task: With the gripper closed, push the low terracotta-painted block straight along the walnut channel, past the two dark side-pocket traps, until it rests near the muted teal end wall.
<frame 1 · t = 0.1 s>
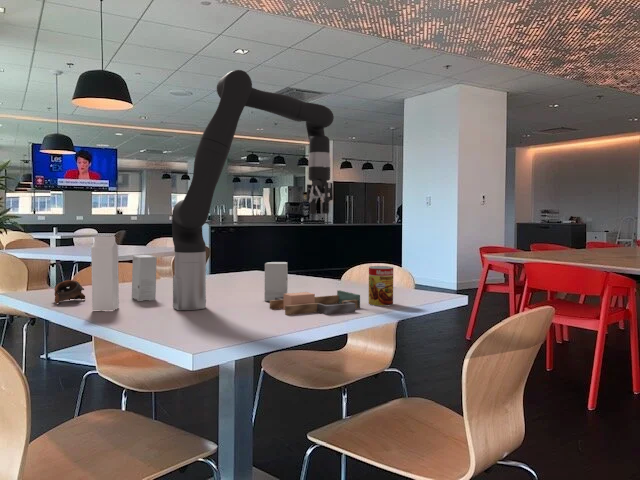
hand: (319, 213, 179), 29 cm above the table, fingers open, 8 cm apart
milk: (105, 310, 155), on the table
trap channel: (313, 308, 158), on the table
brown dome piece: (68, 303, 169), on the table
canned food: (380, 304, 167), on the table
block: (299, 310, 156), resting in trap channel
skincare box: (144, 299, 175), on the table
supplement box: (276, 300, 175), on the table
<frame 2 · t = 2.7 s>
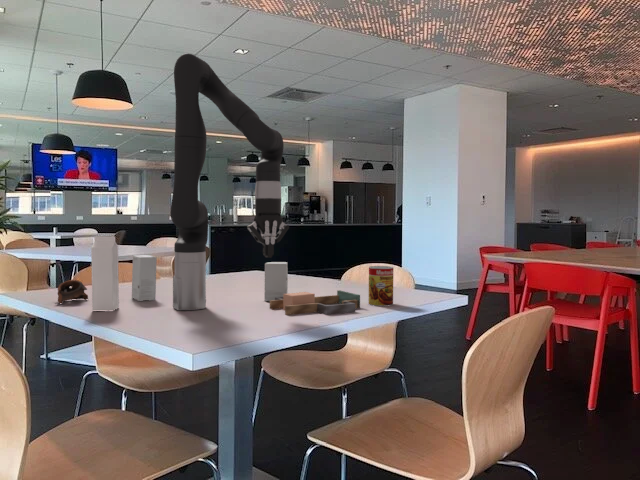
hand: (268, 257, 150), 16 cm above the table, fingers closed
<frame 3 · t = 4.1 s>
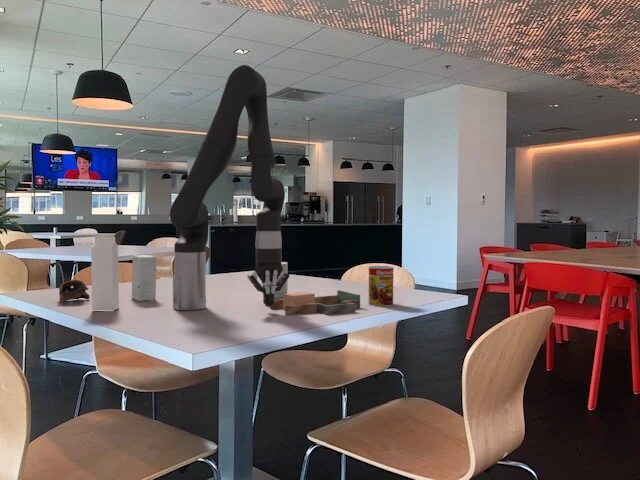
hand: (268, 306, 151), 2 cm above the table, fingers closed
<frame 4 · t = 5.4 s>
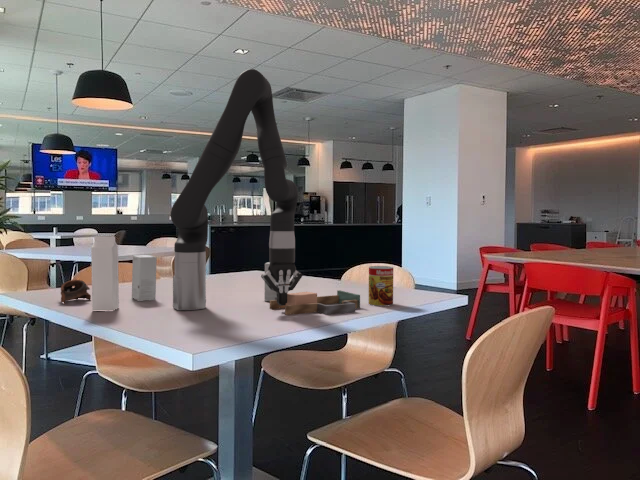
hand: (282, 305, 153), 2 cm above the table, fingers closed
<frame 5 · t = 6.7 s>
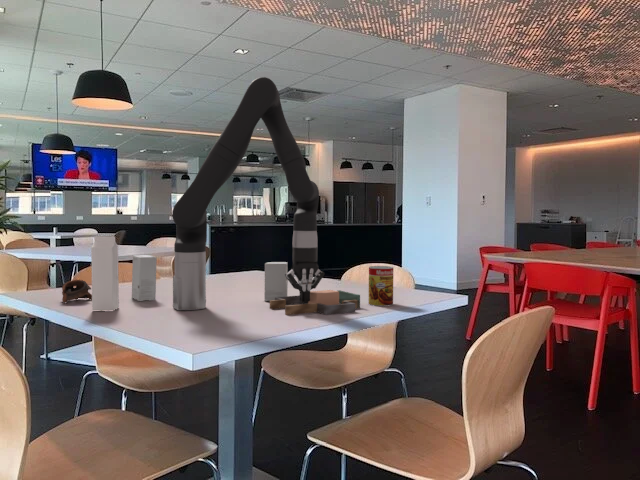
hand: (304, 303, 157), 2 cm above the table, fingers closed
block: (323, 307, 159), resting in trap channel, touching gripper
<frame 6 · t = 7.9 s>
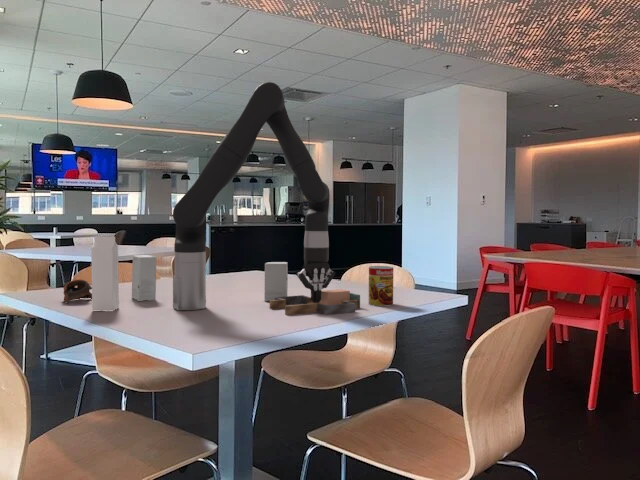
hand: (316, 302, 159), 2 cm above the table, fingers closed
block: (334, 306, 162), resting in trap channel, touching gripper
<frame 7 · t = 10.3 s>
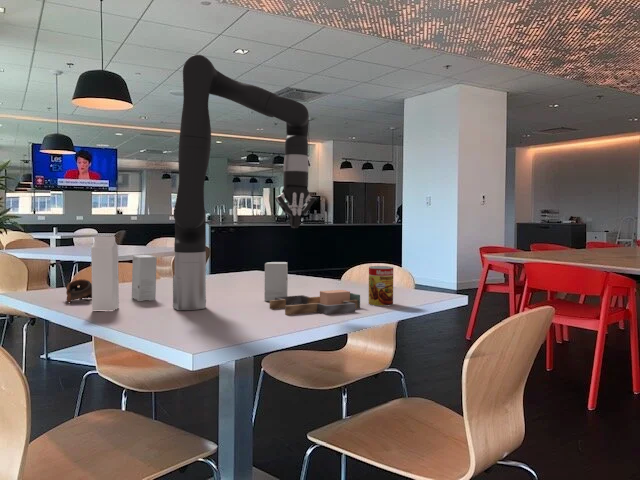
hand: (294, 227, 158), 25 cm above the table, fingers closed
block: (334, 307, 162), resting in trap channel
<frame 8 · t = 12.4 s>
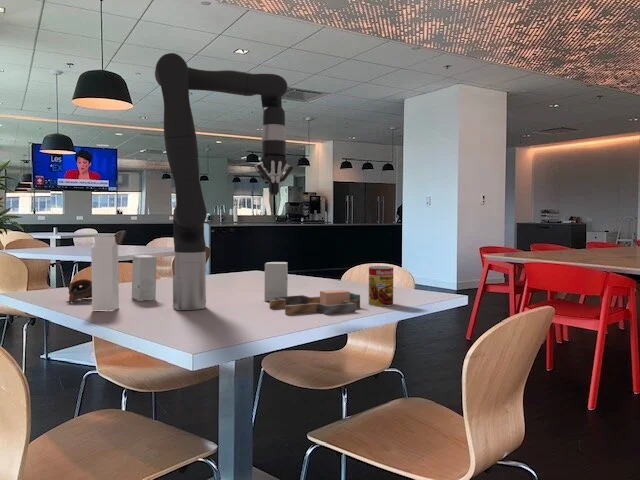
hand: (273, 194, 166), 35 cm above the table, fingers closed
at the end: block inside the target area (0.8 cm from its centre), resting in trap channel; block tilted 0° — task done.
